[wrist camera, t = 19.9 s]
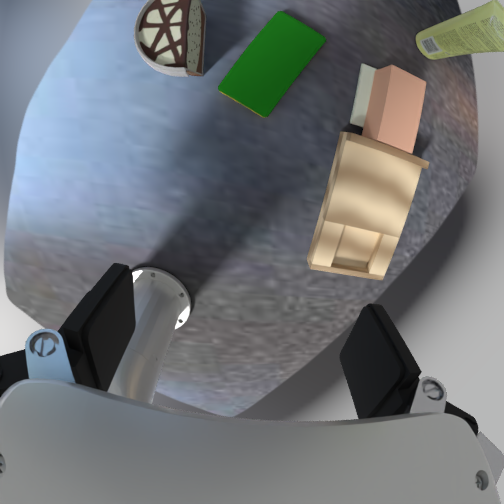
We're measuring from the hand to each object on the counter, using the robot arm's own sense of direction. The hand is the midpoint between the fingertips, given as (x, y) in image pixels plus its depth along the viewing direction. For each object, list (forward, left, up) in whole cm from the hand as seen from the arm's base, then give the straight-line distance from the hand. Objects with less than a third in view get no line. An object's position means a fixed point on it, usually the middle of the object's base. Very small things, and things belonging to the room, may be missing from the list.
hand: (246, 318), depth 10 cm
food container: (+17, +12, -28) cm, 35 cm away
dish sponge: (+16, 0, -28) cm, 32 cm away
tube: (+28, -22, -28) cm, 45 cm away
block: (+14, -16, -25) cm, 32 cm away
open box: (-1, -16, -28) cm, 32 cm away
